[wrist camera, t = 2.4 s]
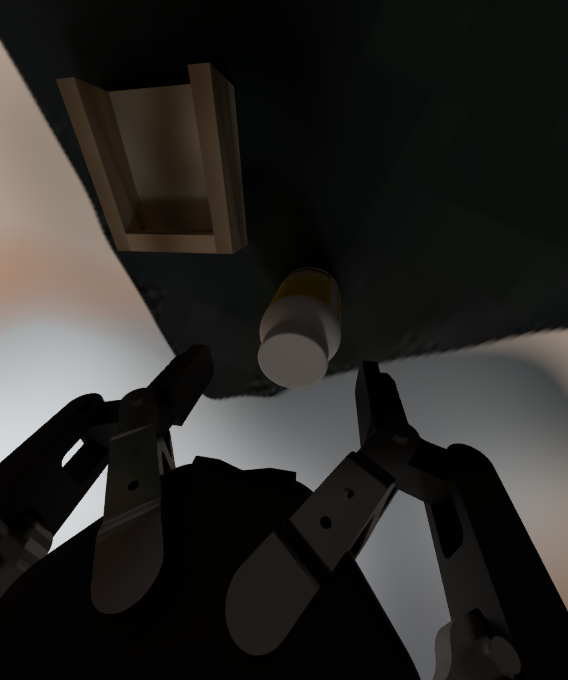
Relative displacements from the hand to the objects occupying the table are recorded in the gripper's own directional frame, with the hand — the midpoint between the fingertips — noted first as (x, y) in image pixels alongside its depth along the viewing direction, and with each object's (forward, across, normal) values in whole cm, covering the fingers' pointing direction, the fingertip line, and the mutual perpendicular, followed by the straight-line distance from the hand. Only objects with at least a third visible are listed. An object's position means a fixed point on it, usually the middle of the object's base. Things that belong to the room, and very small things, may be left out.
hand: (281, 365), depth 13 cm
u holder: (+11, +10, -9) cm, 17 cm away
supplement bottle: (+11, -1, 0) cm, 11 cm away
